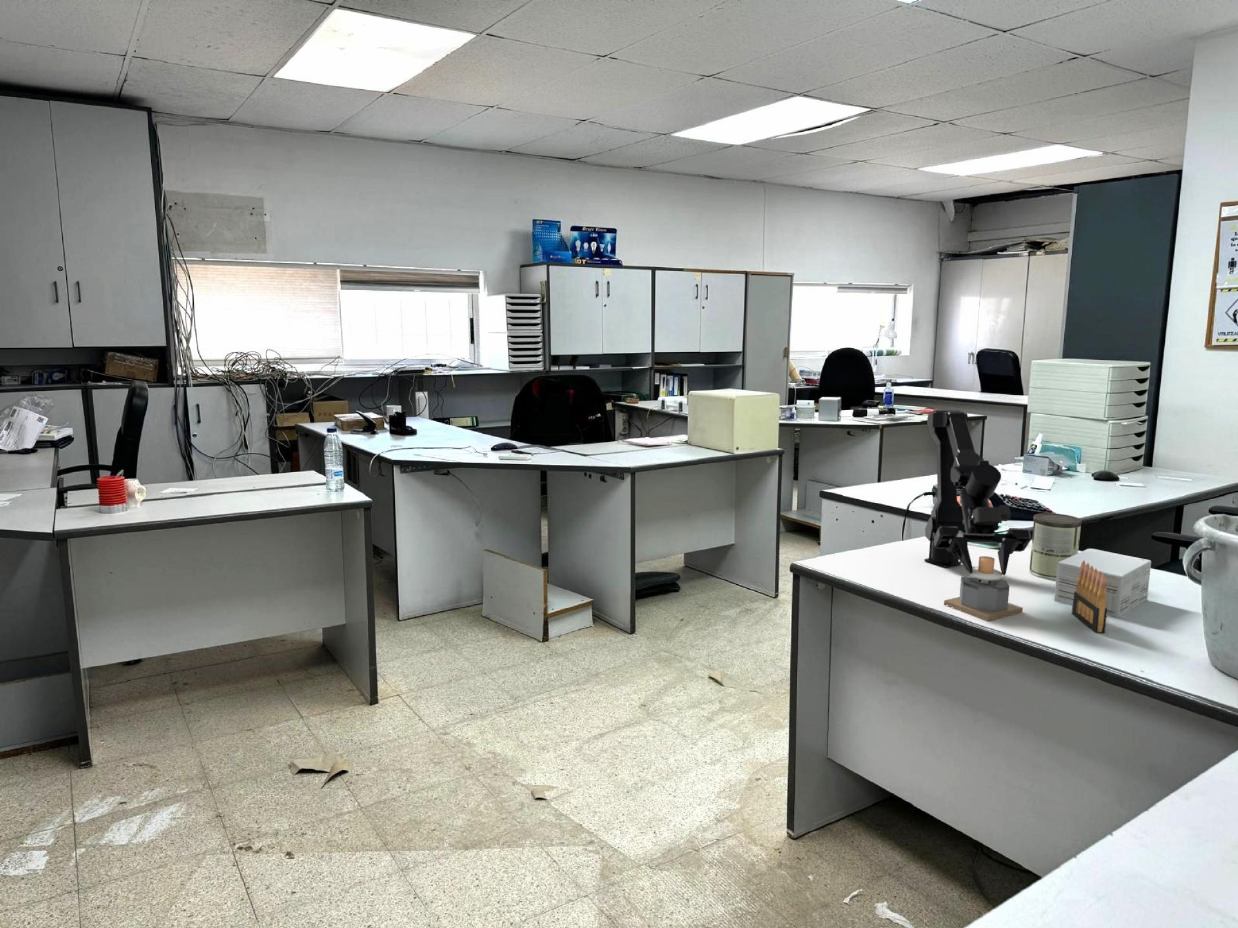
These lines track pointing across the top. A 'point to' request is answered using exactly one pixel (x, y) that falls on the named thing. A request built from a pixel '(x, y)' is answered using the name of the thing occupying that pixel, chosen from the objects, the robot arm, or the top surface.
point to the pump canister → (984, 599)
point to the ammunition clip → (1091, 598)
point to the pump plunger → (986, 570)
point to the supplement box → (1121, 574)
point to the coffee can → (1053, 542)
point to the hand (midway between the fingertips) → (987, 573)
